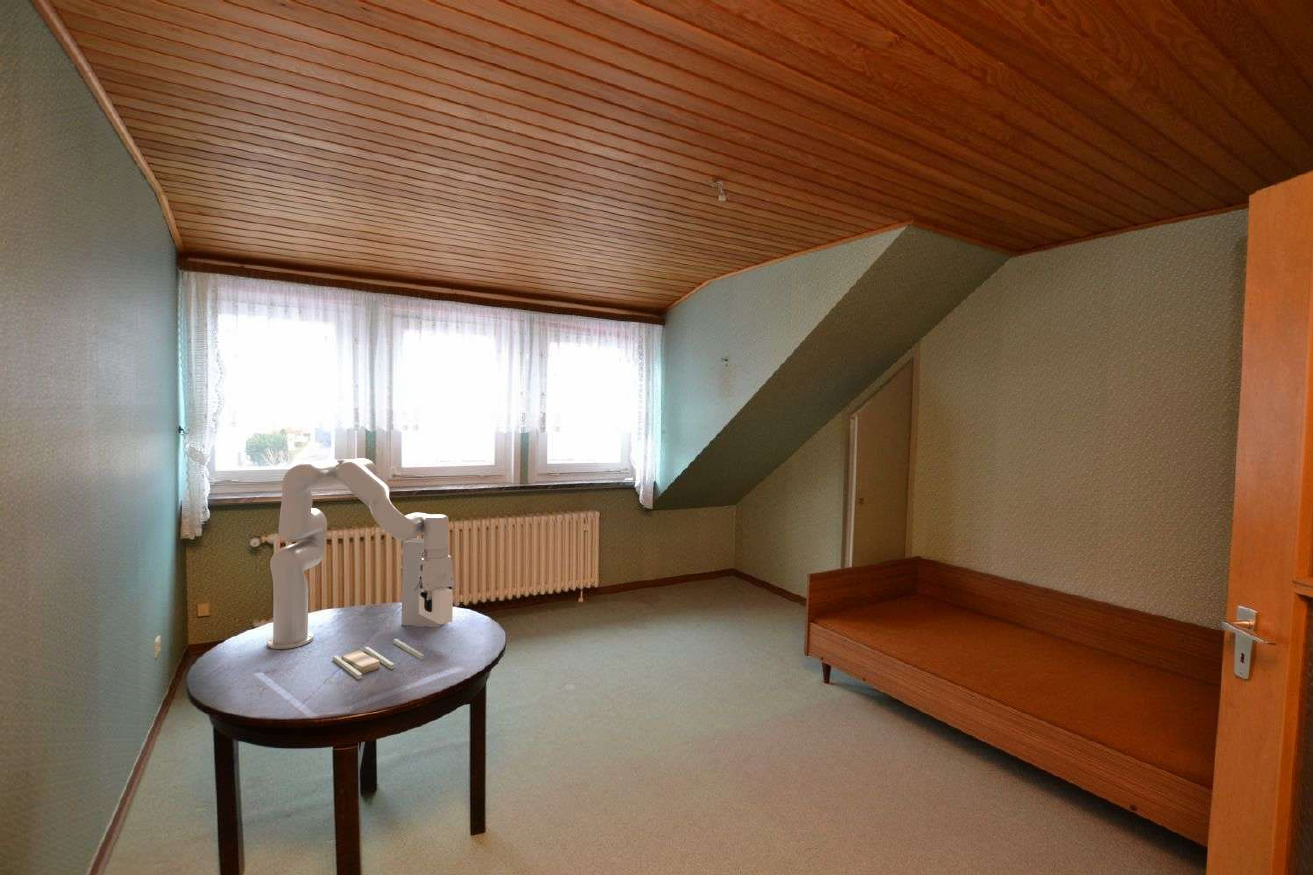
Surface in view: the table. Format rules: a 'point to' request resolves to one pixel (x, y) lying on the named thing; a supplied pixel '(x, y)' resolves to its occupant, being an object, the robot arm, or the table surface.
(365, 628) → the table surface
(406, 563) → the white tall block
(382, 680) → the table surface
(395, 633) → the table surface
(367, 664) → the offcut upper
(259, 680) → the table surface
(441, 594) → the cream rectangular block
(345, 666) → the rack
